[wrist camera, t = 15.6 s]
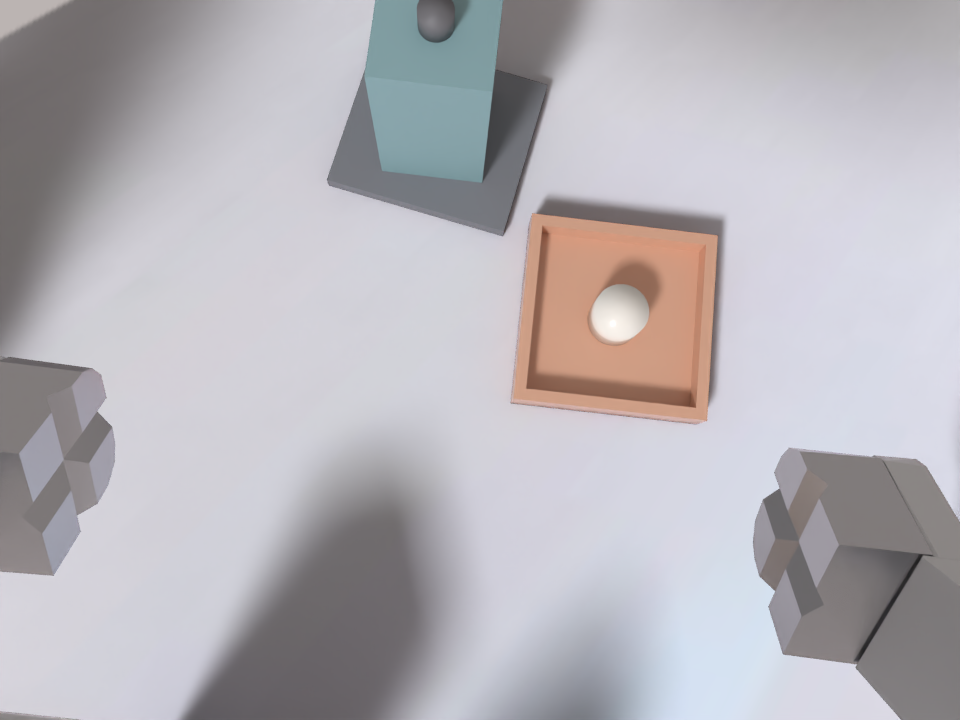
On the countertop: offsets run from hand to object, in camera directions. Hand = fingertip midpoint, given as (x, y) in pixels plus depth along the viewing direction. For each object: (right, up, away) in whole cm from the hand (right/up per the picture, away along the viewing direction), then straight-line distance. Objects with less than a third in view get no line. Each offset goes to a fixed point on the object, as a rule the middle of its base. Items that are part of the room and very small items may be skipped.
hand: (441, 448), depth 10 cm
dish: (+8, +3, +35) cm, 36 cm away
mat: (-2, +14, +36) cm, 39 cm away
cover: (-2, +14, +36) cm, 38 cm away
